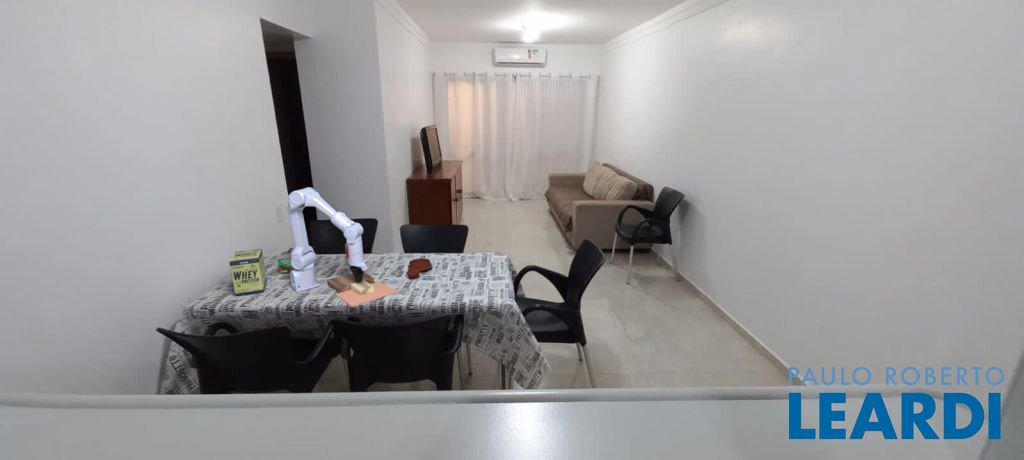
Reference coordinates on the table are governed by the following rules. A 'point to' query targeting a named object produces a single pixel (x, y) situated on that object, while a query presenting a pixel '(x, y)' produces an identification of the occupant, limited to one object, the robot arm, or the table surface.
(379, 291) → the terracotta mat
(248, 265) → the protein box
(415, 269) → the steak
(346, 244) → the soda can
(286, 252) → the food container
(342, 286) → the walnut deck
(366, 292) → the birch tile
